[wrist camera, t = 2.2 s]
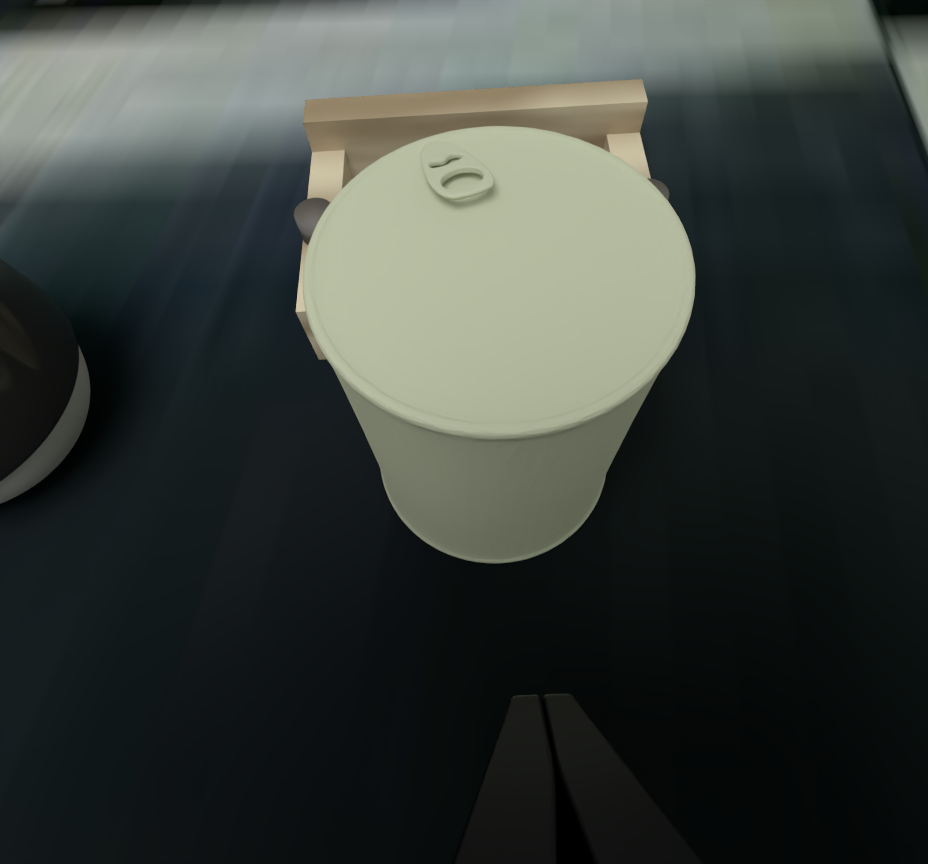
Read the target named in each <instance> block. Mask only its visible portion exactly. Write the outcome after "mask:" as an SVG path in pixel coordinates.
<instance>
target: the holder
mask: <svg viewBox="0 0 928 864" xmlns="http://www.w3.org/2000/svg"><path fill="white" fill-rule="evenodd" d="M647 103H648V101H647V97H646V93H645V89H644V85H643V81H642V79H638V80H622V81H606V82H589V83H573V84H557V85H540V86H524V87H508V88H491V89H475V90H459V91H442V92H426V93H410V94H393V95H377V96H361V97H344V98H328V99H312V100H305V108H304V117H303V125H304V128H305V131H306V134H307V137H308V140H309V144H310V147H311V150H312V159H311V169H310V179H309V188H308V198H307V199H306V200H304V201H302V202H301V203H300V204H299V205H298V206H297V207H296V209H295V211H294V218H295V220H296V223H297V225H298V228H299V231H300V233H301V236H302V238H303V246H302V256H301V266H300V275H299V285H298V295H297V305H296V313H297V316H298V318H299V320H300V322H301V324H302V326H303V328H304V330H305V332H306V334H307V336H308V338H309V340H310V342H311V344H312V346H313V348H314V350H315V352H316V354H317V356H318V358H319V360H320V359H326V357H325V356H324V354H323V352H322V351H321V349H320V347H319V345H318V344H317V342H316V340H315V338H314V335H313V333H312V331H311V328H310V325H309V322H308V318H307V315H306V310H305V305H304V299H303V268H304V261H305V257H306V252H307V248H308V245H309V242H310V240H311V237H312V234H313V232H314V230H315V227H316V225H317V223H318V221H319V220H320V218H321V216H322V214H323V213H324V211H325V210H326V208H327V207H328V205H329V204H330V203H331V202H332V200H333V199H334V198H335V196H336V195H337V194H338V193H339V192H340V191H341V190H342V189H343V188H344V187H345V186H346V185H347V184H348V183H349V182H350V181H351V180H352V179H353V178H354V177H355V176H357V175H358V174H359V173H360V172H361V171H363V170H364V169H365V168H367V167H368V166H370V165H371V164H373V163H374V162H375V161H377V160H378V159H380V158H381V157H383V156H385V155H387V154H389V153H391V152H393V151H395V150H397V149H399V148H401V147H403V146H405V145H408V144H410V143H413V142H415V141H418V140H420V139H423V138H427V137H430V136H433V135H437V134H440V133H444V132H448V131H453V130H459V129H466V128H475V127H484V126H512V127H527V128H536V129H541V130H546V131H552V132H557V133H560V134H564V135H567V136H571V137H574V138H578V139H580V140H583V141H585V142H588V143H590V144H593V145H595V146H598V147H600V148H602V149H604V150H606V151H608V152H610V153H611V154H613V155H615V156H617V157H619V158H620V159H622V160H623V161H625V162H626V163H628V164H629V165H630V166H632V167H633V168H635V169H636V170H637V171H639V172H640V173H641V174H642V175H643V176H645V177H646V178H647V179H648V180H649V181H650V182H651V183H652V184H653V185H654V186H655V187H656V188H657V189H658V190H659V191H660V192H661V194H662V195H663V196H664V197H665V198H666V199H667V200H668V198H669V191H668V189H667V187H666V186H665V185H664V184H663V183H662V182H660V181H658V180H655V179H651V177H650V173H649V169H648V165H647V161H646V157H645V153H644V149H643V144H642V140H641V136H640V129H641V126H642V122H643V118H644V114H645V110H646V107H647Z"/></svg>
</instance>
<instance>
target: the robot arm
mask: <svg viewBox="0 0 928 864" xmlns="http://www.w3.org/2000/svg"><path fill="white" fill-rule="evenodd" d="M452 864H706V863H705V862H704V861H703V859H702V858H701V857H700V856H699V854H698V853H697V852H696V850H695V849H694V848H693V847H692V845H691V844H690V843H689V842H688V840H687V839H686V838H685V837H684V835H683V834H682V833H681V831H680V830H679V829H678V828H677V826H676V825H675V824H674V823H673V821H672V820H671V819H670V818H669V816H668V815H667V814H666V812H665V811H664V810H663V809H662V807H661V806H660V805H659V804H658V802H657V801H656V800H655V798H654V797H653V796H652V795H651V793H650V792H649V791H648V790H647V788H646V787H645V786H644V785H643V783H642V782H641V781H640V779H639V778H638V777H637V776H636V774H635V773H634V772H633V771H632V769H631V768H630V767H629V766H628V764H627V763H626V762H625V760H624V759H623V758H622V757H621V755H620V754H619V753H618V752H617V750H616V749H615V748H614V747H613V745H612V744H611V743H610V741H609V740H608V739H607V738H606V736H605V735H604V734H603V733H602V731H601V730H600V729H599V728H598V726H597V725H596V724H595V722H594V721H593V720H592V719H591V717H590V716H589V715H588V714H587V712H586V711H585V710H584V709H583V707H582V706H581V705H580V703H579V702H578V701H577V700H576V698H575V697H574V696H573V695H571V694H568V693H564V694H546V695H544V696H543V698H542V699H541V697H540V696H538V695H517V696H513V697H512V698H511V699H510V701H509V704H508V707H507V710H506V712H505V715H504V718H503V721H502V724H501V726H500V729H499V732H498V735H497V738H496V740H495V743H494V746H493V749H492V752H491V754H490V757H489V760H488V763H487V766H486V769H485V771H484V774H483V777H482V780H481V783H480V785H479V788H478V791H477V794H476V797H475V799H474V802H473V805H472V808H471V811H470V813H469V816H468V819H467V822H466V825H465V828H464V830H463V833H462V836H461V839H460V842H459V844H458V847H457V850H456V853H455V856H454V858H453V861H452Z"/></svg>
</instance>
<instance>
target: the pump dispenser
mask: <svg viewBox="0 0 928 864" xmlns="http://www.w3.org/2000/svg"><path fill="white" fill-rule="evenodd" d="M89 403H90V380H89V374H88V369H87V365H86V362H85V360H84V357H83V354H82V352H81V350H80V348H79V346H78V341H77V336H76V333H75V330H74V328H73V325H72V323H71V322H70V320H69V318H68V317H67V315H66V314H65V312H64V311H63V310H62V309H61V308H60V306H59V305H58V304H57V303H56V302H55V301H54V300H53V299H52V298H51V297H49V296H48V295H47V294H46V293H45V292H44V291H43V290H42V289H40V288H39V287H38V286H37V285H36V284H34V283H33V282H32V281H31V280H29V279H28V278H27V277H25V276H24V275H23V274H21V273H20V272H19V271H17V270H16V269H14V268H13V267H12V266H10V265H9V264H7V263H6V262H4V261H3V260H2V259H0V504H1V503H4V502H6V501H8V500H10V499H12V498H14V497H16V496H18V495H20V494H22V493H24V492H25V491H27V490H29V489H30V488H32V487H33V486H35V485H36V484H38V483H39V482H40V481H41V480H43V479H44V478H45V477H46V476H48V475H49V474H50V473H51V472H52V471H53V470H54V469H55V468H56V467H57V466H58V465H59V464H60V463H61V462H62V461H63V460H64V458H65V457H66V456H67V455H68V453H69V452H70V450H71V449H72V448H73V446H74V444H75V443H76V441H77V439H78V438H79V435H80V433H81V431H82V429H83V427H84V424H85V421H86V417H87V414H88V410H89Z"/></svg>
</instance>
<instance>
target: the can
mask: <svg viewBox="0 0 928 864" xmlns="http://www.w3.org/2000/svg"><path fill="white" fill-rule="evenodd" d="M694 297H695V265H694V260H693V255H692V250H691V246H690V243H689V240H688V237H687V234H686V232H685V229H684V227H683V225H682V223H681V221H680V219H679V217H678V216H677V214H676V212H675V211H674V209H673V208H672V206H671V205H670V203H669V202H668V201H667V199H666V198H665V197H664V196H663V195H662V194H661V192H660V191H659V190H658V189H657V188H656V187H655V186H654V185H653V184H652V183H651V182H650V181H649V180H648V179H647V178H646V177H645V176H643V175H642V174H641V173H640V172H639V171H637V170H636V169H635V168H633V167H632V166H630V165H629V164H628V163H626V162H625V161H623V160H622V159H620V158H619V157H617V156H615V155H613V154H611V153H610V152H608V151H606V150H604V149H602V148H600V147H598V146H595V145H593V144H590V143H588V142H585V141H583V140H580V139H578V138H574V137H571V136H567V135H564V134H560V133H557V132H552V131H546V130H541V129H536V128H527V127H512V126H484V127H475V128H466V129H459V130H453V131H448V132H444V133H440V134H437V135H433V136H430V137H427V138H423V139H420V140H418V141H415V142H413V143H410V144H408V145H405V146H403V147H401V148H399V149H397V150H395V151H393V152H391V153H389V154H387V155H385V156H383V157H381V158H380V159H378V160H377V161H375V162H374V163H373V164H371V165H370V166H368V167H367V168H365V169H364V170H363V171H361V172H360V173H359V174H358V175H357V176H355V177H354V178H353V179H352V180H351V181H350V182H349V183H348V184H347V185H346V186H345V187H344V188H343V189H342V190H341V191H340V192H339V193H338V194H337V195H336V196H335V198H334V199H333V200H332V202H331V203H330V204H329V205H328V207H327V208H326V210H325V211H324V213H323V214H322V216H321V218H320V220H319V221H318V223H317V225H316V227H315V230H314V232H313V234H312V237H311V240H310V242H309V245H308V248H307V252H306V257H305V261H304V268H303V299H304V305H305V310H306V315H307V318H308V322H309V325H310V328H311V331H312V333H313V335H314V338H315V340H316V342H317V344H318V345H319V347H320V349H321V351H322V352H323V354H324V356H325V357H326V359H327V360H328V361H329V363H330V364H331V366H332V367H333V369H334V371H335V373H336V374H337V376H338V379H339V381H340V383H341V385H342V387H343V389H344V391H345V393H346V395H347V397H348V399H349V401H350V404H351V406H352V408H353V410H354V412H355V414H356V416H357V418H358V420H359V422H360V424H361V426H362V429H363V431H364V433H365V435H366V438H367V440H368V442H369V444H370V446H371V449H372V451H373V453H374V455H375V457H376V460H377V462H378V464H379V466H380V469H381V475H382V480H383V484H384V487H385V490H386V493H387V495H388V498H389V500H390V502H391V504H392V506H393V508H394V509H395V511H396V512H397V514H398V515H399V517H400V518H401V519H402V521H403V522H404V523H405V524H406V525H407V526H408V527H409V529H410V530H412V531H413V532H414V533H415V534H416V535H417V536H418V537H420V538H421V539H422V540H423V541H425V542H426V543H428V544H429V545H431V546H432V547H434V548H436V549H438V550H440V551H442V552H444V553H446V554H448V555H451V556H454V557H457V558H460V559H463V560H468V561H473V562H480V563H508V562H515V561H520V560H524V559H528V558H531V557H535V556H537V555H540V554H542V553H544V552H547V551H549V550H551V549H552V548H554V547H556V546H557V545H559V544H561V543H562V542H563V541H565V540H566V539H567V538H569V537H570V536H571V535H572V534H573V533H574V532H576V531H577V530H578V529H579V527H580V526H581V525H582V524H583V523H584V522H585V521H586V519H587V518H588V516H589V515H590V513H591V512H592V510H593V509H594V507H595V505H596V503H597V501H598V499H599V497H600V495H601V492H602V489H603V486H604V482H605V477H606V473H607V471H608V469H609V467H610V465H611V463H612V461H613V459H614V457H615V455H616V453H617V451H618V449H619V447H620V445H621V443H622V441H623V439H624V437H625V435H626V433H627V431H628V429H629V428H630V426H631V424H632V422H633V420H634V418H635V416H636V414H637V412H638V411H639V409H640V407H641V405H642V403H643V401H644V400H645V398H646V396H647V394H648V392H649V390H650V389H651V387H652V385H653V383H654V381H655V379H656V377H657V376H658V374H659V372H660V371H661V370H662V368H663V367H664V366H665V365H666V364H667V362H668V361H669V359H670V358H671V356H672V355H673V353H674V352H675V350H676V349H677V347H678V345H679V343H680V341H681V339H682V337H683V335H684V333H685V330H686V328H687V325H688V322H689V319H690V316H691V312H692V307H693V302H694Z"/></svg>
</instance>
